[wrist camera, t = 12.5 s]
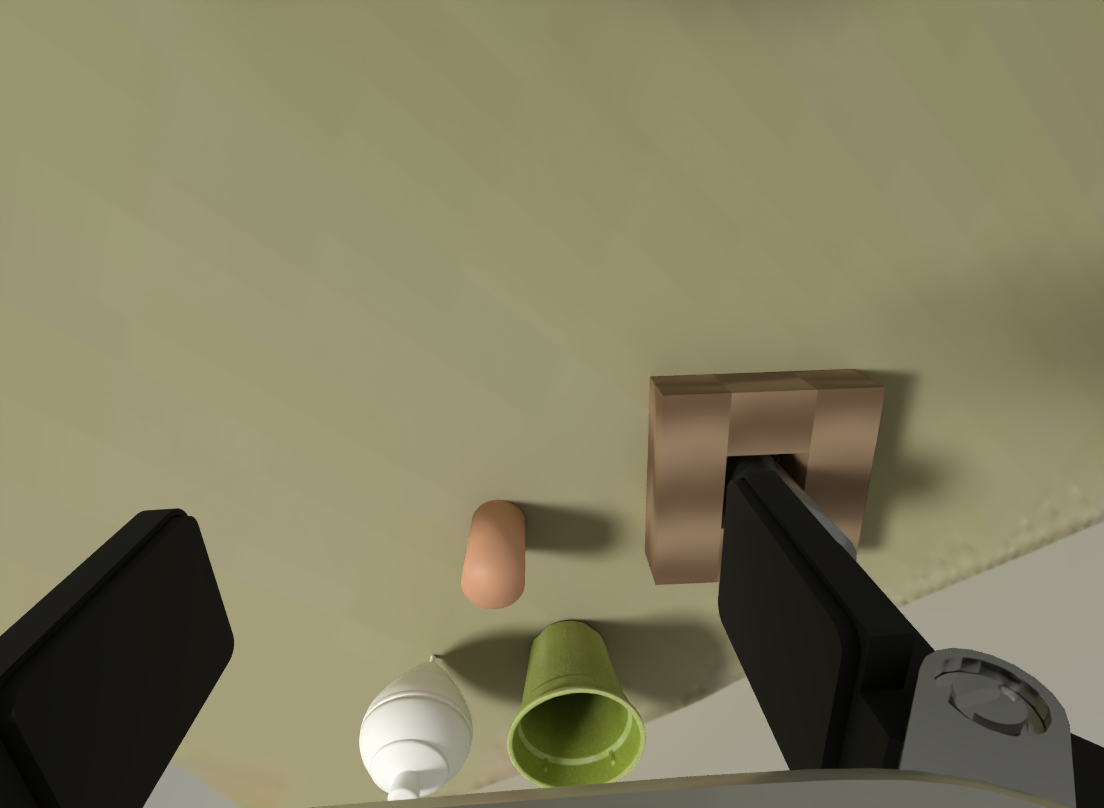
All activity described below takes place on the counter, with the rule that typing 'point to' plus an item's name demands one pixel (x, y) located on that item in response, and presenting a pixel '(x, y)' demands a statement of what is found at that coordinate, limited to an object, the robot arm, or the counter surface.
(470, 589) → the short pin
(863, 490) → the socket block
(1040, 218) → the counter surface
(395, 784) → the spinning top
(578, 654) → the plant pot
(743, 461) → the long pin
